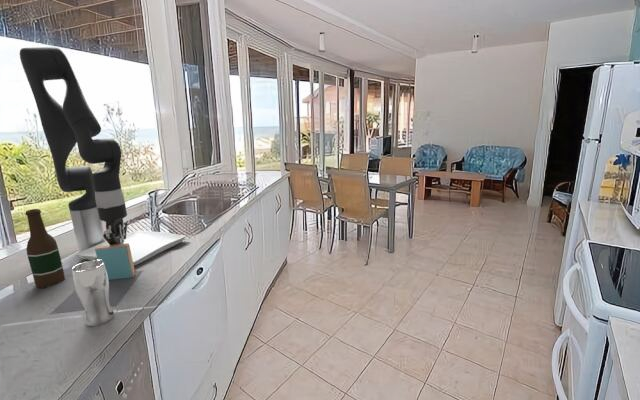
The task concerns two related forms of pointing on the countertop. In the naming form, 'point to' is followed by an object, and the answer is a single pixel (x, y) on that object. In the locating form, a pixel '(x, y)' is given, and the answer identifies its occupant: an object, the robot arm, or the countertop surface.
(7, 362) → the countertop surface
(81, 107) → the robot arm
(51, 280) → the beer bottle
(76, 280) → the beer glass
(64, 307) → the mat
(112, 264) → the tile
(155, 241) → the square plate
